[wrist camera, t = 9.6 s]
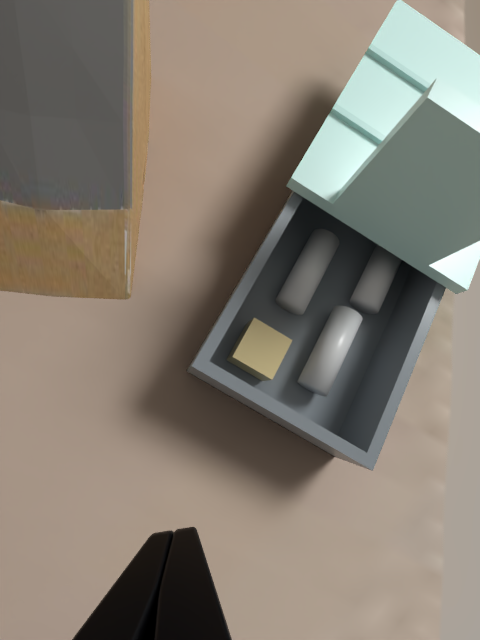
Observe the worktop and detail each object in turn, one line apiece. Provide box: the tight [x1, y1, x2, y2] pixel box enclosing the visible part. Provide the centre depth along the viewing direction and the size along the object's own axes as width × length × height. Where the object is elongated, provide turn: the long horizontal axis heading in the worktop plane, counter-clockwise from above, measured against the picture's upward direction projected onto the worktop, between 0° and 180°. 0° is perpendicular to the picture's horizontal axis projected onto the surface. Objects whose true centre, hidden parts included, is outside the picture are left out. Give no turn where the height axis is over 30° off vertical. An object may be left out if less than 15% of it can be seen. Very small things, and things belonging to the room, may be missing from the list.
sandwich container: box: [0, 0, 151, 299], centre depth 15 cm, size 9×15×15 cm, turn 179°
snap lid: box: [286, 0, 480, 294], centre depth 18 cm, size 15×11×8 cm
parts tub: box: [187, 191, 446, 471], centre depth 21 cm, size 14×10×4 cm
